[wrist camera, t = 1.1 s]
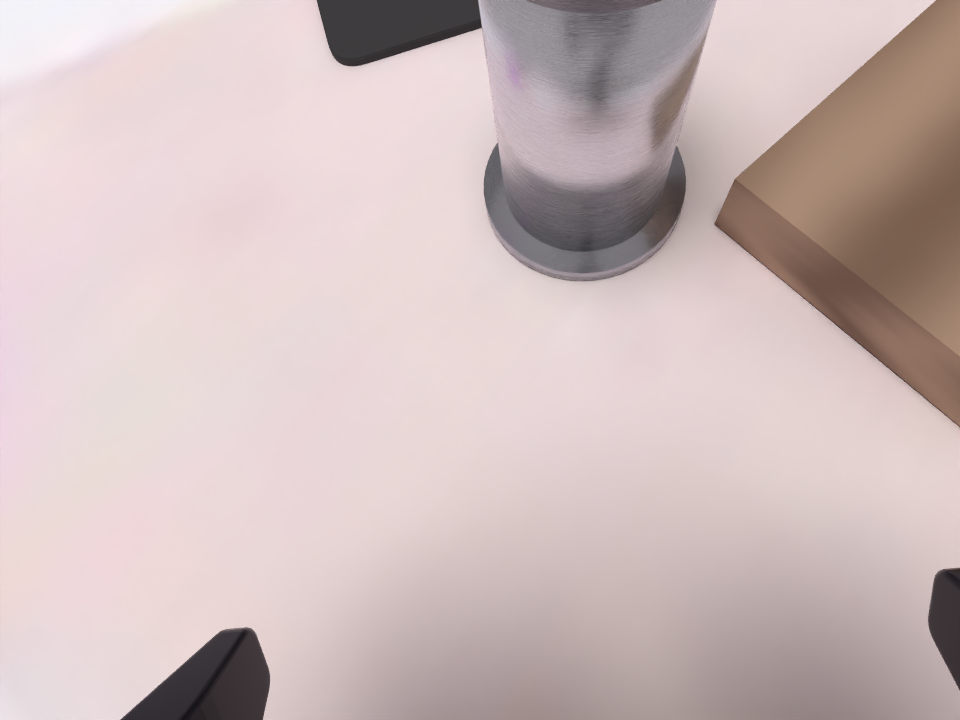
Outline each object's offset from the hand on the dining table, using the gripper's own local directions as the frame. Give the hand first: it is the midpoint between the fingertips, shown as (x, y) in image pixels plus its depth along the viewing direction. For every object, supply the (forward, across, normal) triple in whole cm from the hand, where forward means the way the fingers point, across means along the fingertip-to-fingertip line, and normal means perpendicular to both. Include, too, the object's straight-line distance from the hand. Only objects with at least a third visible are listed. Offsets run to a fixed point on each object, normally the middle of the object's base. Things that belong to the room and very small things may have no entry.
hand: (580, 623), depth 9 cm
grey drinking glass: (+20, -2, -2) cm, 20 cm away
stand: (+18, -15, 0) cm, 23 cm away
